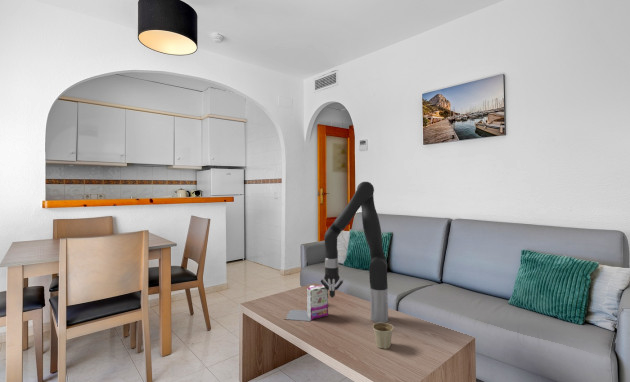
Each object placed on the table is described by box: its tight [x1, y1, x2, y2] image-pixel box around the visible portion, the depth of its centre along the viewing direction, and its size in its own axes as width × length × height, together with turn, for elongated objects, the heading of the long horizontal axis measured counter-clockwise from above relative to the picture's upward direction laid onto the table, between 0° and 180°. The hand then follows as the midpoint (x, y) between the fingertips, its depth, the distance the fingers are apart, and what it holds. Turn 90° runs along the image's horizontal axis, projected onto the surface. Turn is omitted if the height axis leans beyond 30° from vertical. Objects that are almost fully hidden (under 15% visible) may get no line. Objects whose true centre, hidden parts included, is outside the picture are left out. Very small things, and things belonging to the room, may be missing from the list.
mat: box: [285, 309, 312, 322], centre depth 178 cm, size 15×13×1 cm
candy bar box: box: [306, 284, 329, 321], centre depth 176 cm, size 11×5×16 cm, turn 119°
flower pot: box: [372, 322, 394, 350], centre depth 143 cm, size 9×9×9 cm
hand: (332, 296), depth 174 cm, fingers closed
